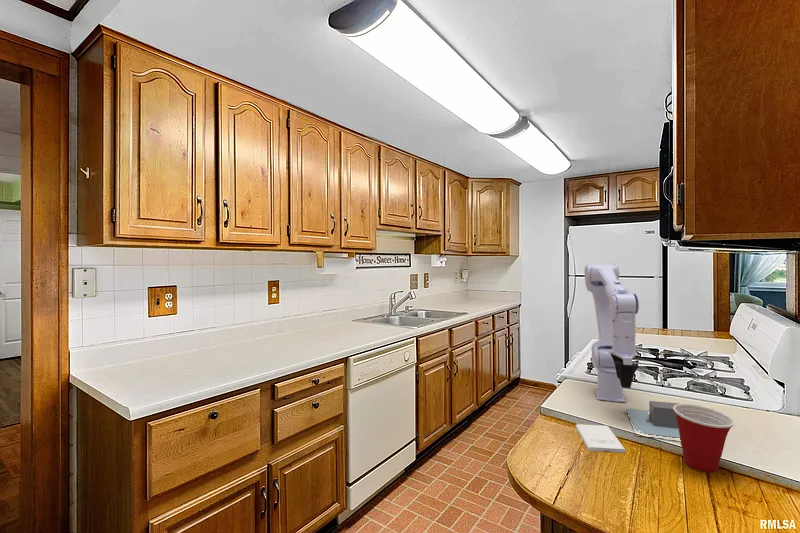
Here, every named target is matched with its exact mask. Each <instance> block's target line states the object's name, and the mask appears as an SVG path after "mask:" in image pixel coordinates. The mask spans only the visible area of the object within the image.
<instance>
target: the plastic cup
mask: <svg viewBox="0 0 800 533" xmlns="http://www.w3.org/2000/svg"><path fill="white" fill-rule="evenodd" d="M673 410H674V412H675V414H676V418H677V423H678V429H679V435H680V440H681V442H680V446H681V448H682V454H683V459H684V461H685V464H686V465H687V466H688V467H689V468H691V469H693V470H695V471H700V472H702V473H707V474H709V473H715V472H718V469H719V468H720V467H719V466H720V462H721V458H722V455H723V451H724V449H725V448H724V447H725V444H726V440H727V436H728V433H729V432H730V429H731V428H732V427H734V425H735V420H734V419H733V418H732V417H731V416H729V415H727V414H726V413H724V412H722V411H719V410H716V409H714V408H710V407H706V406H703V405H699V404H692V403H680V404H677V405H674V407H673Z"/></svg>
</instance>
